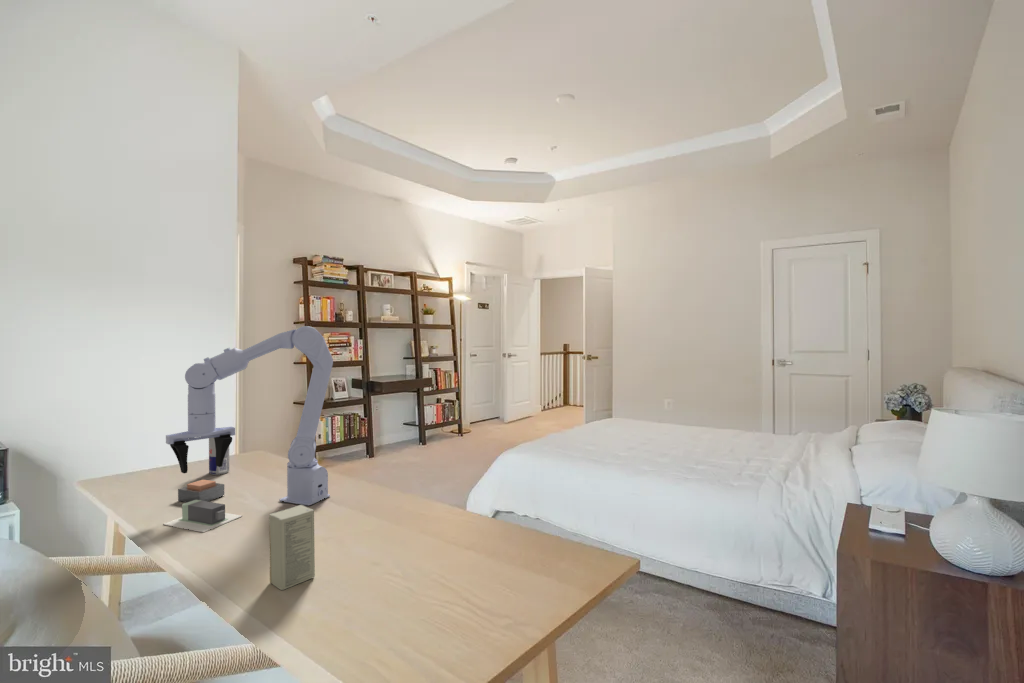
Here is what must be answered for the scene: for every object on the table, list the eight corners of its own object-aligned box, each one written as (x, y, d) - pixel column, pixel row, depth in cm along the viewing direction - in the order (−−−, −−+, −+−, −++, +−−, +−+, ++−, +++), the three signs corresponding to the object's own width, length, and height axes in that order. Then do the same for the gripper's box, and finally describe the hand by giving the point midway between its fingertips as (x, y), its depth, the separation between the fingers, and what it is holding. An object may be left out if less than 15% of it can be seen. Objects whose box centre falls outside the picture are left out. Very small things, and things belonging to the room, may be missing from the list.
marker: (228, 519, 117) (228, 505, 117) (215, 525, 114) (215, 509, 114) (196, 514, 121) (195, 499, 121) (182, 519, 118) (182, 504, 118)
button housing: (224, 495, 135) (224, 484, 135) (199, 504, 128) (199, 492, 128) (203, 492, 137) (203, 481, 137) (178, 500, 131) (178, 489, 130)
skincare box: (302, 570, 94) (302, 503, 94) (315, 578, 91) (315, 509, 91) (268, 583, 89) (267, 513, 89) (280, 591, 86) (280, 519, 86)
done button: (215, 489, 134) (215, 481, 134) (200, 494, 130) (200, 486, 130) (202, 487, 136) (202, 479, 135) (187, 492, 131) (187, 484, 131)
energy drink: (209, 471, 157) (209, 431, 157) (230, 469, 160) (229, 430, 159) (208, 476, 152) (207, 435, 152) (228, 474, 155) (228, 433, 154)
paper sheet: (242, 516, 120) (242, 515, 120) (203, 532, 111) (203, 531, 111) (203, 510, 124) (203, 508, 124) (163, 524, 115) (163, 523, 115)
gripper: (227, 407, 133) (227, 460, 134) (161, 414, 122) (161, 472, 123) (238, 410, 129) (238, 465, 129) (171, 418, 118) (171, 477, 118)
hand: (202, 469), depth 125 cm, fingers open, 7 cm apart
